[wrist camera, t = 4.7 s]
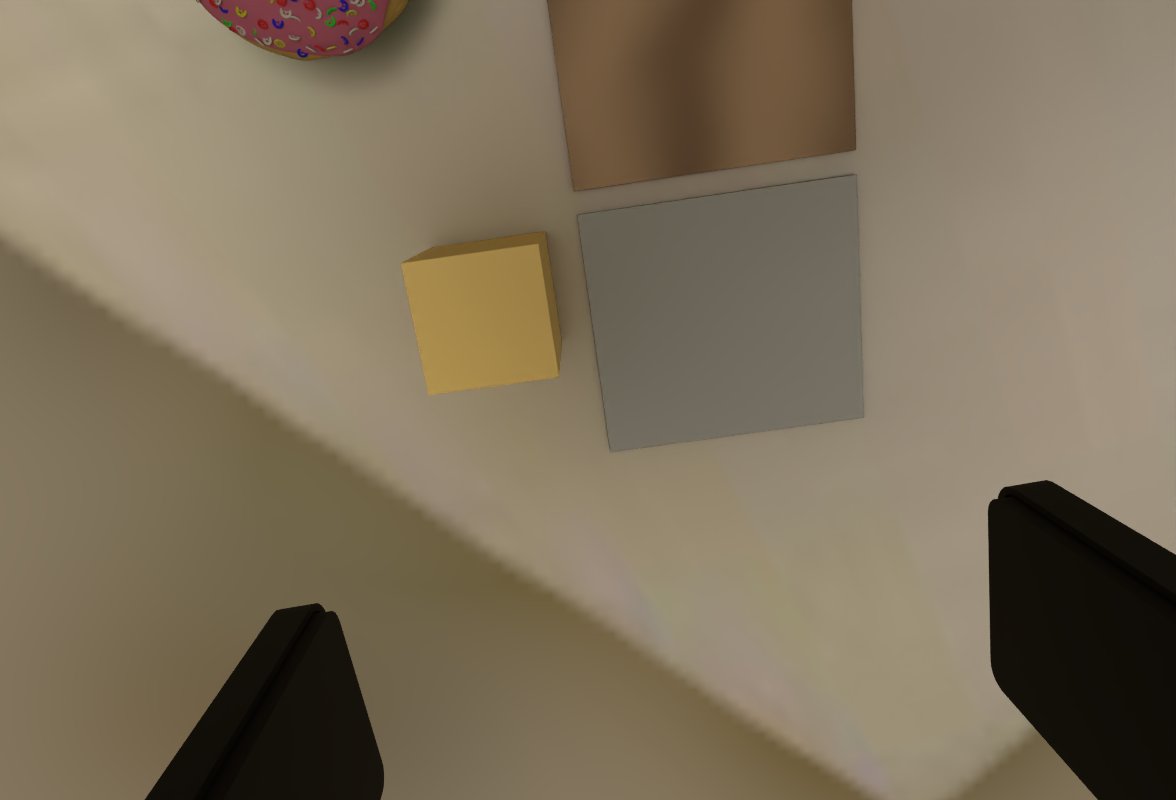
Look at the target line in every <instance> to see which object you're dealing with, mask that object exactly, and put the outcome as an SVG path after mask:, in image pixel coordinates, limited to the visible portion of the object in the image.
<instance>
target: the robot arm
mask: <svg viewBox="0 0 1176 800" xmlns="http://www.w3.org/2000/svg"><path fill="white" fill-rule="evenodd" d="M988 539H989V596H990V653H991V667H992V671H993V675H994V677H995V680H996V682H997V684H998V685H999V687H1000V688H1001V690H1002V691H1003V692H1004V694H1005V695H1006V696H1007V697H1008V698H1009V699H1010V700H1011V702H1012V703H1013V704H1014V705H1015V706H1016V707H1017V708H1018V709H1019V711H1020V712H1021V713H1022V714H1023V715H1024V716H1025V717H1026V719H1027V720H1028V721H1029V722H1030V723H1031V724H1032V725H1033V727H1034V728H1035V729H1036V730H1037V731H1038V732H1039V733H1040V734H1041V736H1042V737H1043V738H1044V739H1045V740H1046V741H1047V742H1048V744H1049V745H1050V746H1051V747H1052V748H1053V749H1054V750H1055V751H1056V753H1057V754H1058V755H1059V756H1060V757H1061V758H1062V759H1063V760H1064V762H1065V763H1066V764H1067V765H1068V766H1069V767H1070V768H1071V770H1072V771H1073V772H1074V773H1075V774H1076V775H1077V776H1078V778H1079V779H1080V780H1081V781H1082V782H1083V783H1084V784H1085V786H1086V787H1087V788H1088V789H1089V790H1090V791H1091V792H1092V794H1093V795H1094V796H1095V797H1096V798H1097V799H1098V800H1176V555H1175V554H1173V553H1172V552H1170V551H1168V550H1167V549H1165V548H1163V547H1162V546H1160V545H1158V544H1156V543H1155V542H1153V541H1151V540H1150V539H1148V538H1146V537H1145V536H1143V535H1141V534H1140V533H1138V532H1136V531H1134V530H1133V529H1131V528H1129V527H1128V526H1126V525H1124V524H1123V523H1121V522H1119V521H1118V520H1116V519H1114V518H1113V517H1111V516H1109V515H1107V514H1106V513H1104V512H1102V511H1101V510H1099V509H1097V508H1096V507H1094V506H1092V505H1091V504H1089V503H1087V502H1086V501H1084V500H1082V499H1080V498H1079V497H1077V496H1075V495H1074V494H1072V493H1070V492H1069V491H1067V490H1065V489H1064V488H1062V487H1060V486H1058V485H1057V484H1055V483H1053V482H1051V481H1048V480H1045V481H1038V482H1033V483H1027V484H1021V485H1015V486H1009V487H1004V488H1003V489H1002V490H1001V491H1000V493H999V496H998V499H994V500H992V501H991V502H990V504H989V507H988ZM383 787H384V769H383V764H382V760H381V756H380V753H379V750H378V747H377V743H376V740H375V737H374V733H373V730H372V727H371V723H370V720H369V717H368V713H367V710H366V707H365V704H364V700H363V697H362V693H361V690H360V687H359V684H358V681H357V677H356V674H355V670H354V667H353V664H352V660H351V657H350V654H349V650H348V647H347V644H346V641H345V637H344V634H343V631H342V627H341V624H340V621H339V619H338V616H337V615H336V613H335V612H333V611H329V612H325V610H324V608H323V607H322V606H321V605H320V604H318V603H315V604H310V605H304V606H298V607H292V608H286V609H281V610H276V611H275V612H274V614H273V615H272V616H271V617H270V619H269V620H268V622H267V623H266V625H265V626H264V628H263V629H262V631H261V632H260V633H259V635H258V636H257V638H256V639H255V641H254V642H253V644H252V645H251V646H250V648H249V649H248V651H247V652H246V654H245V655H244V657H243V658H242V660H241V661H240V662H239V664H238V665H237V667H236V668H235V670H234V671H233V673H232V674H231V675H230V677H229V679H228V680H227V681H226V683H225V684H224V686H223V687H222V688H221V690H220V691H219V693H218V695H217V696H216V697H215V699H214V700H213V702H212V703H211V704H210V706H209V707H208V709H207V710H206V712H205V713H204V715H203V716H202V718H201V719H200V721H199V722H198V723H197V725H196V726H195V728H194V729H193V731H192V732H191V733H190V735H189V737H188V738H187V739H186V741H185V742H184V744H183V745H182V747H181V748H180V749H179V751H178V752H177V754H176V755H175V757H174V758H173V760H172V761H171V762H170V764H169V765H168V767H167V768H166V770H165V771H164V773H163V774H162V776H161V777H160V778H159V780H158V781H157V783H156V784H155V786H154V787H153V789H152V790H151V792H150V793H149V794H148V796H147V797H146V799H145V800H380V799H381V795H382V792H383Z"/></svg>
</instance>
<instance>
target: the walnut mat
mask: <svg viewBox="0 0 1176 800" xmlns="http://www.w3.org/2000/svg"><path fill="white" fill-rule="evenodd" d="M547 2H548V9H549V16H550V23H551V30H552V38H553V45H554V52H555V59H556V66H557V73H558V81H559V88H560V95H561V102H562V109H563V116H564V123H565V131H566V138H567V145H568V152H569V159H570V166H571V173H572V181H573V188H574V191H578V190H585V189H592V188H599V187H606V186H613V185H620V184H626V183H633V182H640V181H647V180H654V179H661V178H668V177H674V176H681V175H688V174H695V173H702V172H709V171H716V170H723V169H729V168H736V167H743V166H750V165H757V164H764V163H771V162H777V161H784V160H791V159H798V158H805V157H812V156H819V155H825V154H832V153H839V152H846V151H853V150H856V126H855V91H854V56H853V22H852V0H547Z"/></svg>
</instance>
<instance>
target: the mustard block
mask: <svg viewBox="0 0 1176 800" xmlns="http://www.w3.org/2000/svg"><path fill="white" fill-rule="evenodd" d="M401 266H402V271H403V276H404V280H405V285H406V290H407V295H408V299H409V304H410V309H411V313H412V318H413V323H414V328H415V332H416V337H417V342H418V347H419V351H420V356H421V361H422V365H423V370H424V375H425V380H426V384H427V389H428V394H429V395H433V394H440V393H447V392H455V391H462V390H469V389H477V388H484V387H491V386H499V385H506V384H513V383H520V382H528V381H535V380H542V379H550V378H557V377H559V371H560V359H561V347H562V340H561V334H560V327H559V320H558V314H557V307H556V300H555V294H554V287H553V281H552V274H551V267H550V261H549V254H548V248H547V241H546V234H545V232H538V233H531V234H524V235H517V236H510V237H503V238H496V239H489V240H481V241H474V242H467V243H460V244H453V245H446V246H439V247H432V248H430V249H428V250H426V251H424V252H422V253H420V254H418V255H416V256H414V257H412V258H411V259H409V260H407V261H405V262H403V263H401Z"/></svg>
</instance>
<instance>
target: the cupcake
mask: <svg viewBox="0 0 1176 800" xmlns="http://www.w3.org/2000/svg"><path fill="white" fill-rule="evenodd" d="M196 1H197V2H198V3H199V1H200V3H201V4H202V5H203V7H204V8H205V9H206V10H207V11H208V12H209V13H210V14H211V15H212V16H213V17H215V18H216V19H217V20H218V21H220V22H221V23H222V24H224V25H225V26H226V27H228V28H229V29H230V30H231V31H233V32H235V33H236V34H237V35H239V36H240V37H242V38H243V39H245V40H247V41H248V42H250V43H252V44H254V45H256V46H258V47H260V48H262V49H265V50H267V51H270V52H273V53H276V54H279V55H282V56H286V57H289V58H292V59H297V60H316V59H322V58H327V57H331V56H341V55H347V54H351V53H353V52H356V51H358V50H360V49H362V48H364V47H365V46H367V45H368V44H370V43H371V42H372V41H373V40H375V39H376V38H377V37H378V35H379V34H380V33H381V31H383V30H384V29H385V28H386V27H387V26H388V25H389V24H391V23H392V22H393V21H394V20H395V19H396V18H397V17H398V16H399V15H400V14H401V12H402V11H403V10H404V8H405V7H406V5H407V3H408V0H196Z"/></svg>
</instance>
